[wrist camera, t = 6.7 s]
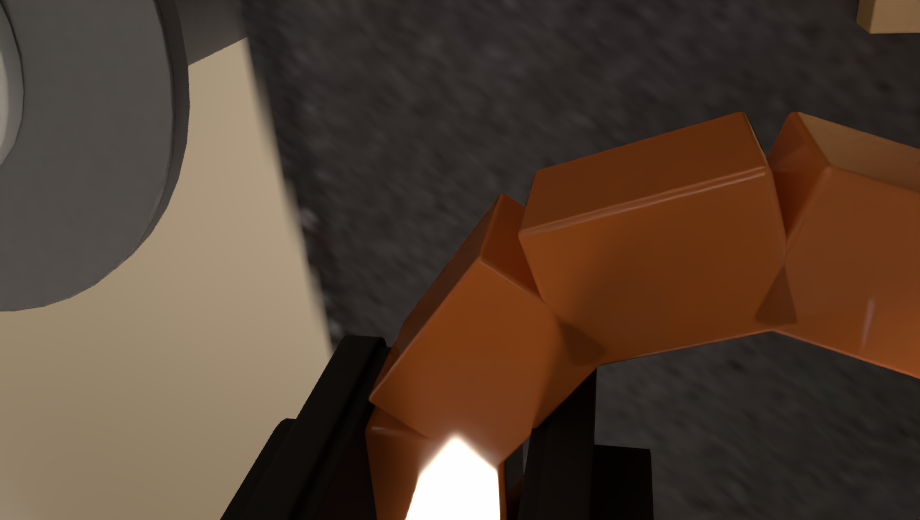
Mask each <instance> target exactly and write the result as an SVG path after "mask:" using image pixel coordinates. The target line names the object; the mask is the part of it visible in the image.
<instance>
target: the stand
mask: <svg viewBox="0 0 920 520" xmlns="http://www.w3.org/2000/svg"><path fill="white" fill-rule="evenodd" d="M856 23H857V24H858V25H859V26H861V27H862V28H864V29H865V30H866V31H868V32H869V33H871V34H875V33H915V32H920V0H860V1H859V7H858V13H857V19H856Z"/></svg>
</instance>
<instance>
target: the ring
mask: <svg viewBox="0 0 920 520" xmlns="http://www.w3.org/2000/svg"><path fill="white" fill-rule="evenodd" d="M771 331H773V332H776V333H780V334H783V335H786V336H789V337H792V338H795V339H798V340H801V341H804V342H807V343H811V344H814V345H817V346H820V347H823V348H826V349H829V350H832V351H835V352H838V353H842V354H845V355H848V356H851V357H854V358H857V359H860V360H863V361H866V362H869V363H873V364H876V365H879V366H882V367H885V368H888V369H891V370H894V371H897V372H900V373H903V374H907V375H910V376H913V377H916V378H919V379H920V150H919V149H916V148H913V147H910V146H907V145H903V144H900V143H897V142H894V141H890V140H887V139H884V138H881V137H878V136H874V135H871V134H868V133H865V132H861V131H858V130H855V129H852V128H849V127H845V126H842V125H839V124H836V123H833V122H829V121H826V120H823V119H820V118H816V117H813V116H810V115H807V114H804V113H800V112H792V113H791V114H790V115H789V116H788V117H787V119H786V121H785V123H784V125H783V127H782V129H781V131H780V133H779V135H778V137H777V139H776V141H775V143H774V145H773V147H772V149H771V151H770V153H769V155H768V157H766V155H765V153H764V151H763V148H762V146H761V144H760V142H759V140H758V138H757V136H756V133H755V131H754V129H753V127H752V125H751V123H750V120H749V118H748V117H747V115H746V114H745V113H743V112H737V113H734V114H730V115H727V116H723V117H720V118H716V119H713V120H710V121H706V122H703V123H699V124H696V125H692V126H689V127H686V128H682V129H679V130H675V131H672V132H668V133H665V134H662V135H658V136H655V137H651V138H648V139H644V140H641V141H638V142H634V143H631V144H627V145H624V146H620V147H617V148H614V149H610V150H607V151H603V152H600V153H596V154H593V155H590V156H586V157H583V158H579V159H576V160H573V161H569V162H566V163H562V164H559V165H555V166H552V167H549V168H545V169H542V170H538V171H537V172H536V173H535V174H534V177H533V180H532V184H531V188H530V191H529V195H528V198H527V202H526V205H525V207H524V206H522V205H521V204H519V203H518V202H516V201H515V200H513V199H512V198H510V197H509V196H508V195H506V194H504V193H502V194H500V195H499V196H498V198H497V199H496V200H495V202H494V203H493V204H492V206H491V207H490V208H489V210H488V211H487V212H486V214H485V215H484V216H483V218H482V219H481V220H480V221H479V223H478V224H477V225H476V227H475V228H474V229H473V231H472V232H471V233H470V235H469V236H468V237H467V239H466V240H465V241H464V243H463V244H462V245H461V247H460V248H459V249H458V251H457V252H456V253H455V255H454V256H453V257H452V259H451V260H450V261H449V263H448V264H447V265H446V267H445V268H444V269H443V271H442V272H441V273H440V275H439V276H438V277H437V278H436V280H435V281H434V282H433V284H432V285H431V286H430V288H429V289H428V290H427V292H426V293H425V294H424V296H423V297H422V298H421V300H420V301H419V302H418V304H417V305H416V306H415V308H414V309H413V310H412V312H411V313H410V314H409V316H408V317H407V318H406V320H405V321H404V323H403V325H402V327H401V329H400V331H399V334H398V336H397V338H396V340H395V342H394V344H393V346H392V348H391V351H390V353H389V355H388V357H387V359H386V361H385V363H384V366H383V368H382V370H381V372H380V374H379V376H378V378H377V380H376V383H375V385H374V387H373V389H372V391H371V393H370V395H369V401H370V402H371V403H372V404H374V405H375V408H374V410H373V412H372V415H371V417H370V419H369V421H368V423H367V426H366V429H365V437H366V444H367V451H368V458H369V465H370V472H371V479H372V486H373V493H374V500H375V507H376V514H377V520H517V518H518V511H519V505H520V499H521V493H522V487H523V480H524V472H523V442H524V441H525V440H526V439H527V438H528V437H529V436H530V435H531V431H532V428H538V427H539V426H540V425H541V424H542V423H543V422H544V421H545V420H546V418H547V417H548V416H549V415H550V414H551V413H552V412H553V411H554V410H555V409H556V408H557V407H558V406H559V405H560V404H561V403H562V402H563V401H564V400H565V399H566V398H567V397H568V396H569V395H570V394H571V393H572V392H573V391H574V390H575V389H576V388H577V387H578V386H579V385H580V384H581V383H582V382H583V381H584V380H585V379H586V378H587V377H588V376H589V375H590V374H591V373H592V372H593V371H594V370H595V369H596V368H597V367H598V366H600V365H605V364H610V363H615V362H620V361H625V360H630V359H635V358H640V357H645V356H650V355H655V354H660V353H666V352H671V351H676V350H681V349H686V348H691V347H696V346H701V345H706V344H711V343H716V342H721V341H726V340H731V339H736V338H741V337H746V336H751V335H756V334H761V333H766V332H771ZM918 520H920V518H919V519H918Z"/></svg>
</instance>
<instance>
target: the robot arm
mask: <svg viewBox="0 0 920 520" xmlns="http://www.w3.org/2000/svg"><path fill="white" fill-rule="evenodd" d="M23 95H24V88H23V80H22V71H21V63H20V57H19V54H18V50H17V47H16V43H15V40H14V36H13V33H12V29H11V26H10V23H9V21H8V19H7V17H6V14H5V12H4V10H3V8H2V6H1V3H0V165H1V164H2V163H3V162H4V160H5V158H6V157H7V155H8V153H9V152H10V150H11V148H12V147H13V145H14V143H15V140H16V137H17V133H18V130H19V127H20V123H21V120H22V109H23ZM390 351H391V347H387V346H386V342H385V340H384V338H382V337H371V336H355V335H346V336H344V338H343V339H342V340H341V342H340V344H339V345H338V347H337V349H336V351H335V352H334V354H333V356H332V358H331V359H330V361H329V363H328V364H327V366H326V368H325V370H324V371H323V373H322V375H321V377H320V378H319V380H318V382H317V384H316V385H315V387H314V389H313V390H312V392H311V394H310V396H309V397H308V399H307V401H306V403H305V404H304V406H303V408H302V410H301V411H300V413H299V415H298V417H297V418H296V419H288V418H286V419H284V420H282V421H281V422H280V423H279V424H278V426H277V427H276V428H275V430H274V431H273V433H272V435H271V436H270V438H269V440H268V441H267V443H266V444H265V446H264V448H263V450H262V451H261V453H260V454H259V456H258V458H257V459H256V461H255V463H254V464H253V466H252V468H251V469H250V471H249V473H248V474H247V476H246V478H245V479H244V481H243V483H242V484H241V486H240V488H239V489H238V491H237V493H236V494H235V496H234V498H233V499H232V501H231V503H230V504H229V506H228V507H227V509H226V511H225V512H224V514H223V516H222V517H221V519H220V520H377V514H376V507H375V500H374V493H373V486H372V479H371V472H370V465H369V458H368V451H367V444H366V437H365V429H366V426H367V423H368V421H369V419H370V417H371V415H372V412H373V410H374V408H375V405H374V404H372V403H371V402H370V401H369V395H370V393H371V391H372V389H373V387H374V385H375V383H376V380H377V378H378V376H379V374H380V372H381V370H382V368H383V366H384V363H385V361H386V359H387V357H388V355H389V353H390ZM596 378H597V368H596V369H595V370H594V371H593V372H592V373H591V374H590V375H589V376H588V377H587V378H586V379H585V380H584V381H583V382H582V383H581V384H580V385H579V386H578V387H577V388H576V389H575V390H574V391H573V392H572V393H571V394H570V395H569V396H568V397H567V398H566V399H565V400H564V401H563V402H562V403H561V404H560V405H559V406H558V407H557V408H556V409H555V410H554V411H553V412H552V413H551V414H550V415H549V416H548V417H547V418H546V420H545V421H544V422H543V423H542V424H541V425H540V426H539V427H538V428H532V431H531V437H530V443H529V449H528V455H527V462H526V468H525V474H524V480H523V487H522V493H521V499H520V505H519V511H518V518H517V520H654V516H653V493H652V470H651V453H650V449H641V448H629V447H617V446H606V445H594V431H595V405H596Z"/></svg>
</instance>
